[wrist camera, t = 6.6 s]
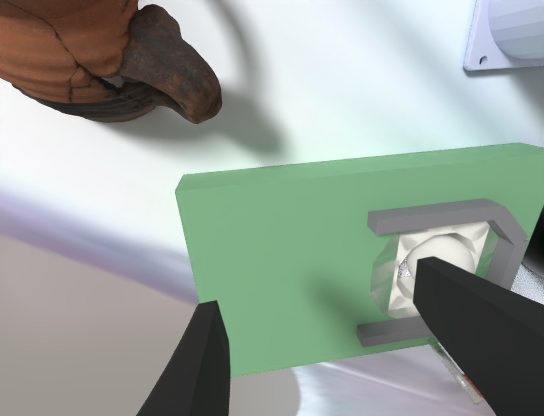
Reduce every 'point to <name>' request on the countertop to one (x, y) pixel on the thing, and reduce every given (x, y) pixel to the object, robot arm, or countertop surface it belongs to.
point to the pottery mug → (104, 59)
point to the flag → (457, 373)
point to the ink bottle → (536, 248)
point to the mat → (348, 245)
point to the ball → (441, 253)
